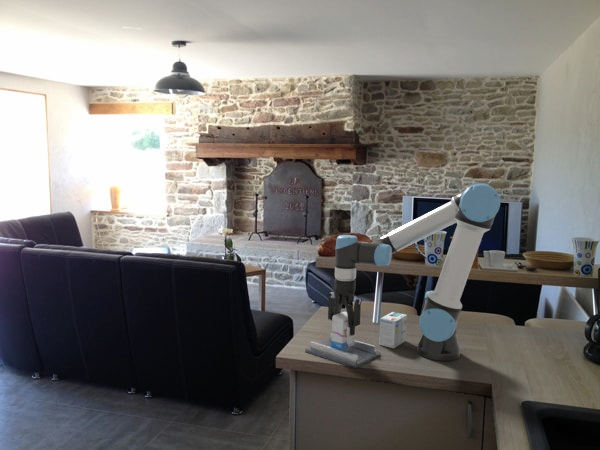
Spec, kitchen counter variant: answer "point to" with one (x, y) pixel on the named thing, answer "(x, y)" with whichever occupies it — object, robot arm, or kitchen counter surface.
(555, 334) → the kitchen counter surface
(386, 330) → the light bulb box
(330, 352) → the rail board
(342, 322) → the ink box
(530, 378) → the kitchen counter surface
